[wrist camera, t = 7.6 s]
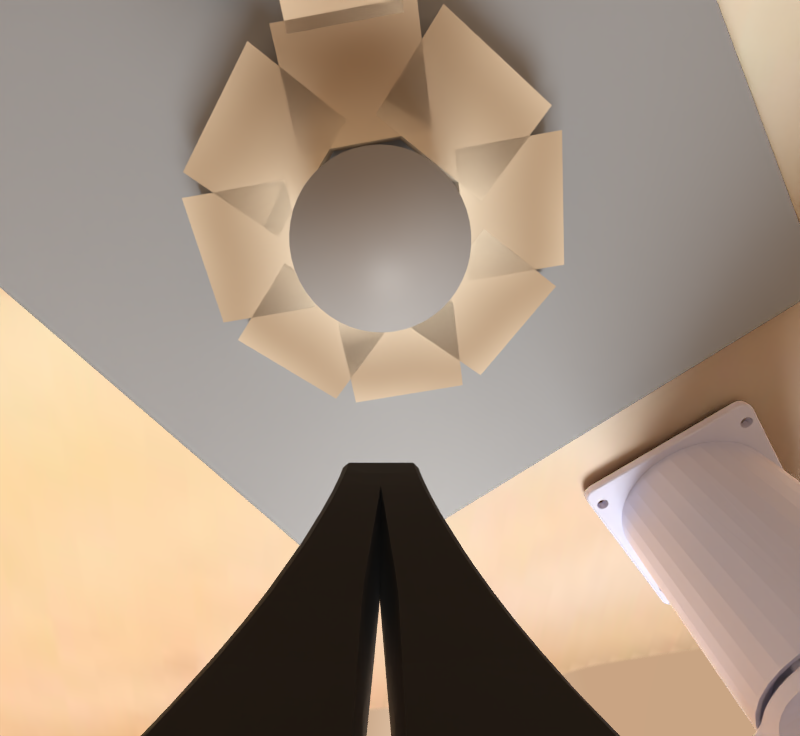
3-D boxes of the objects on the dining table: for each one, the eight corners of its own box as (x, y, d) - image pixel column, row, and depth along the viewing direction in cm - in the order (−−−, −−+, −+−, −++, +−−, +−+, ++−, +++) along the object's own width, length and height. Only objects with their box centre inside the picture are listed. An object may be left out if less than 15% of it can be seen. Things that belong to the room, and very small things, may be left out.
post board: (809, 283, 17) (971, 322, 13) (343, 572, 22) (332, 677, 18) (471, -595, 9) (563, -1391, 5) (-131, 158, 15) (-384, 146, 10)
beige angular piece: (553, 356, 17) (627, 431, 12) (263, 403, 18) (214, 496, 12) (536, -281, 11) (682, -716, 5) (73, -186, 11) (-199, -509, 6)
